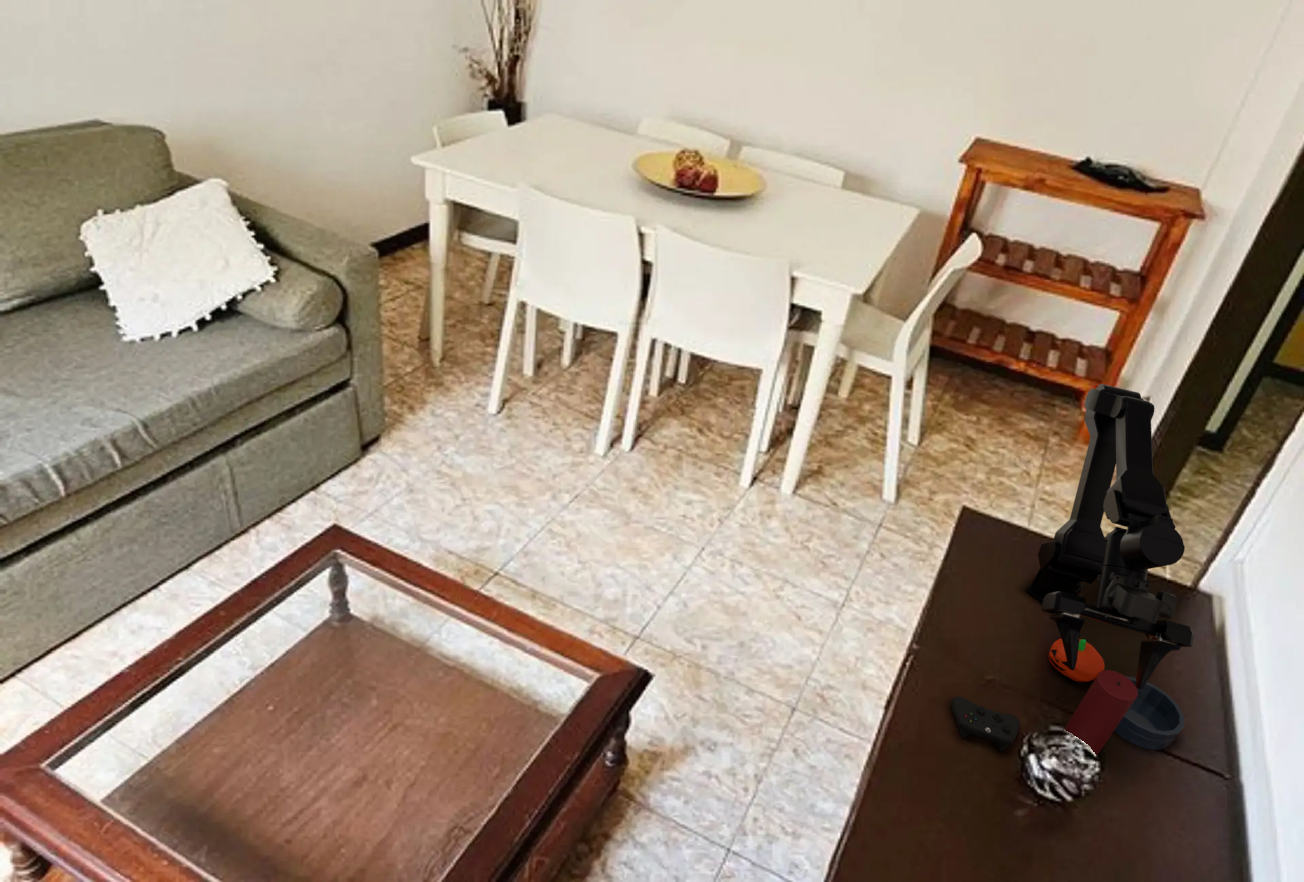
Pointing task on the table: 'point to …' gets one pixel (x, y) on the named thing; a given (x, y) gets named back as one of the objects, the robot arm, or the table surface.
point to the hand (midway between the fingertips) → (1105, 679)
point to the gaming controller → (984, 722)
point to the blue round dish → (1151, 719)
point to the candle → (1102, 709)
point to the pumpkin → (1086, 662)
